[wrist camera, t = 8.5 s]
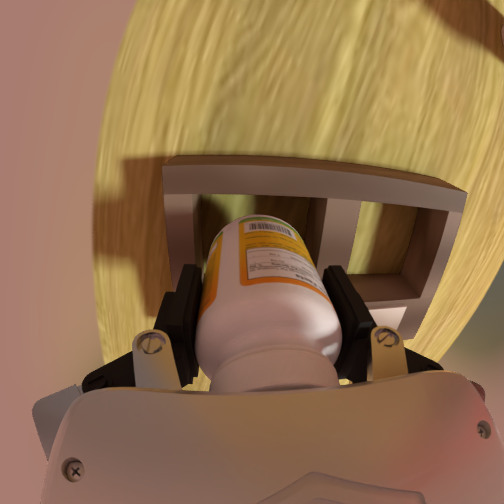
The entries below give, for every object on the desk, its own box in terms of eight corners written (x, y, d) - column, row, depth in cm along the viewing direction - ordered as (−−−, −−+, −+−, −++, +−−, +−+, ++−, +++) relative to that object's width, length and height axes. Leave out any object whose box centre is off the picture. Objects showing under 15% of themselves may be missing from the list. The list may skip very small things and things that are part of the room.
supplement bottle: (241, 309, 17) (246, 458, 9) (189, 243, 15) (144, 402, 6) (319, 270, 16) (380, 415, 7) (277, 193, 14) (337, 332, 5)
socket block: (176, 155, 16) (160, 167, 12) (439, 178, 17) (470, 194, 14) (189, 319, 22) (183, 353, 19) (397, 313, 23) (414, 340, 20)
